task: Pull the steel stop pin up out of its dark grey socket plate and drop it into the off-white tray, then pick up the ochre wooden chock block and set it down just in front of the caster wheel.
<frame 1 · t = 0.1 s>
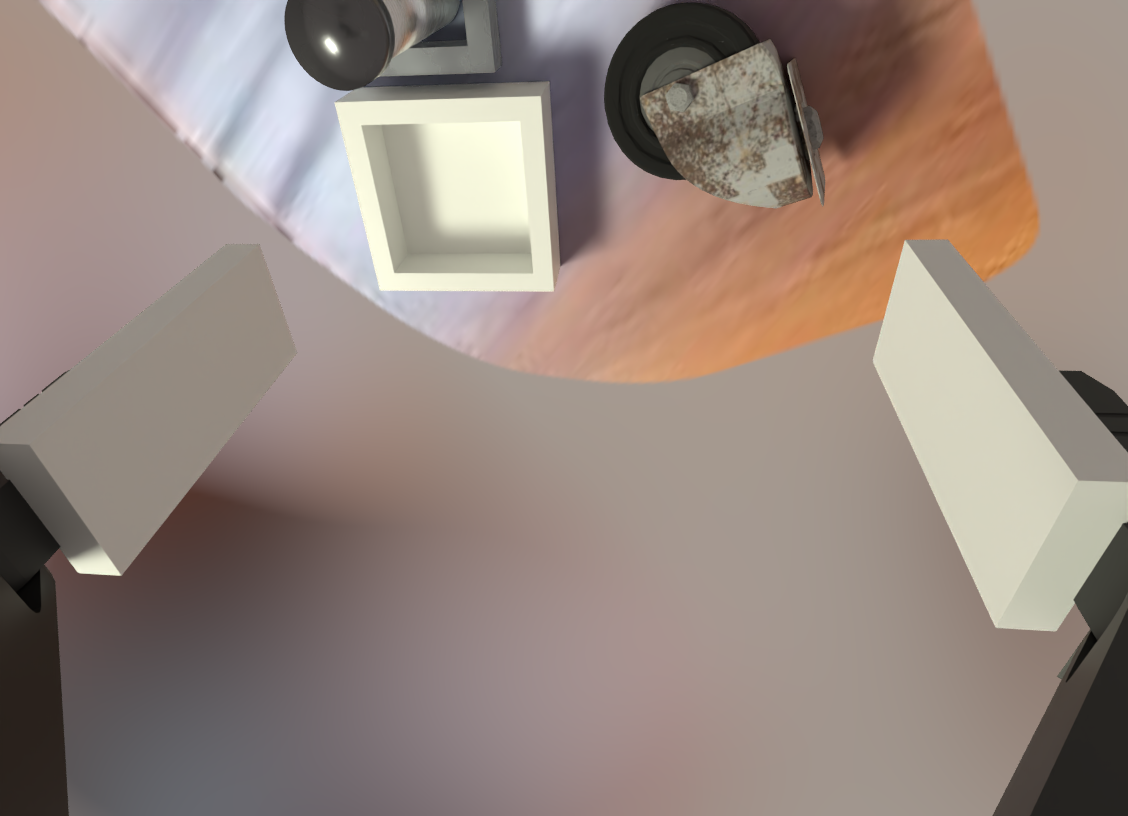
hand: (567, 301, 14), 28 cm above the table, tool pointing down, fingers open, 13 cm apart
tray: (465, 182, 41), on the table
caster wheel: (707, 106, 37), on the table
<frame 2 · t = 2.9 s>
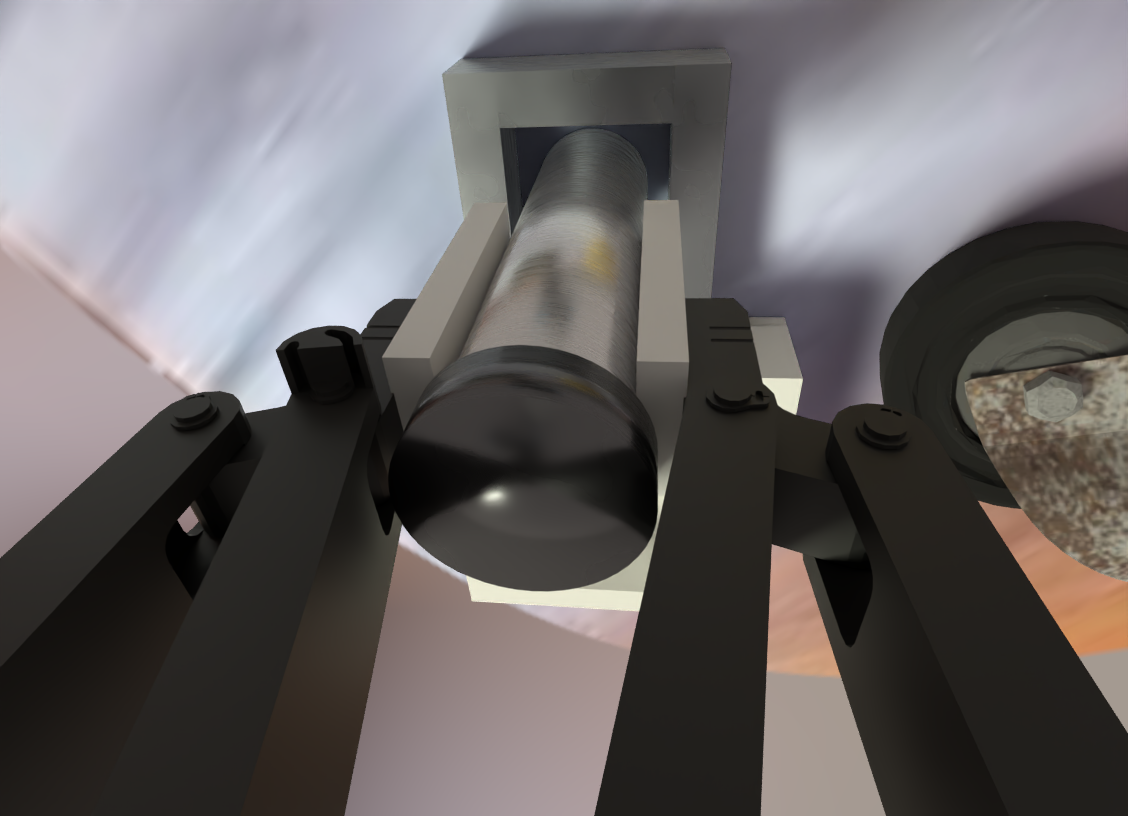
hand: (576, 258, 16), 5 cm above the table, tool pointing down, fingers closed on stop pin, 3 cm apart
stop pin: (593, 184, 20), resting in pin socket, touching gripper
pin socket: (593, 185, 20), on the table
tray: (613, 443, 26), on the table
caster wheel: (1031, 362, 22), on the table
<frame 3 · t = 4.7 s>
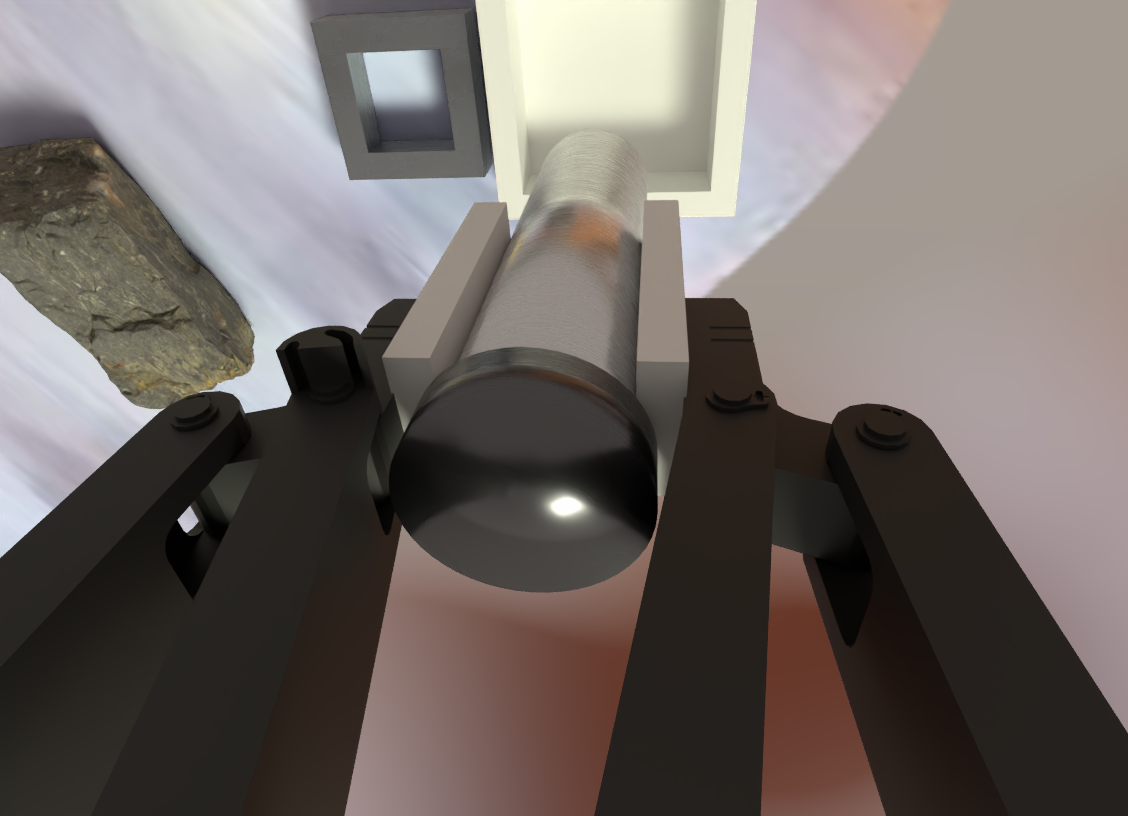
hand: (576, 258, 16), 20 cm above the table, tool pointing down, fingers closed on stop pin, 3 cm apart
stop pin: (593, 186, 20), point 15 cm above the table, touching gripper
pin socket: (414, 93, 33), on the table
tray: (617, 74, 31), on the table
rock: (155, 244, 40), on the table
when the fingers open (7 cm above the table, at t = 6.9 s): stop pin stays where it is, resting on tray.
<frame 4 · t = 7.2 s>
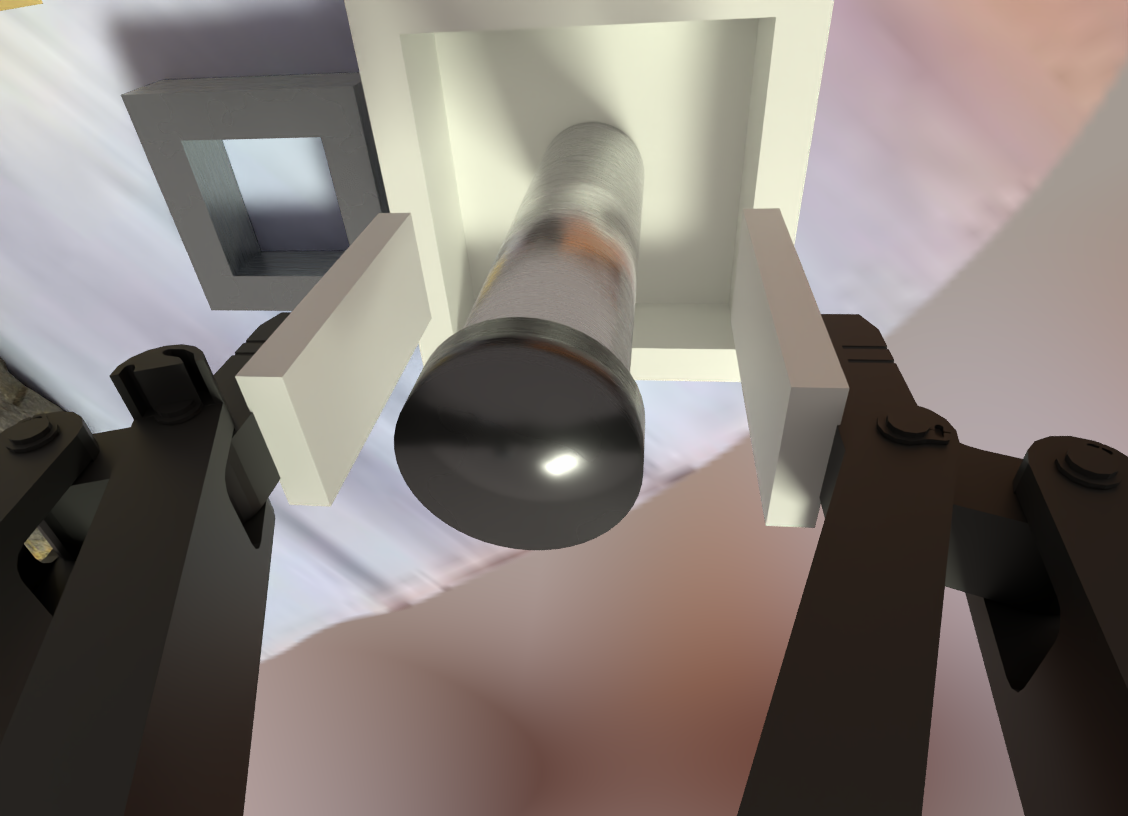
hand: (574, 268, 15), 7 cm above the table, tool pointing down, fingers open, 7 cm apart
stop pin: (592, 176, 20), point 1 cm above the table, touching tray
pin socket: (300, 189, 22), on the table
tray: (596, 168, 21), on the table
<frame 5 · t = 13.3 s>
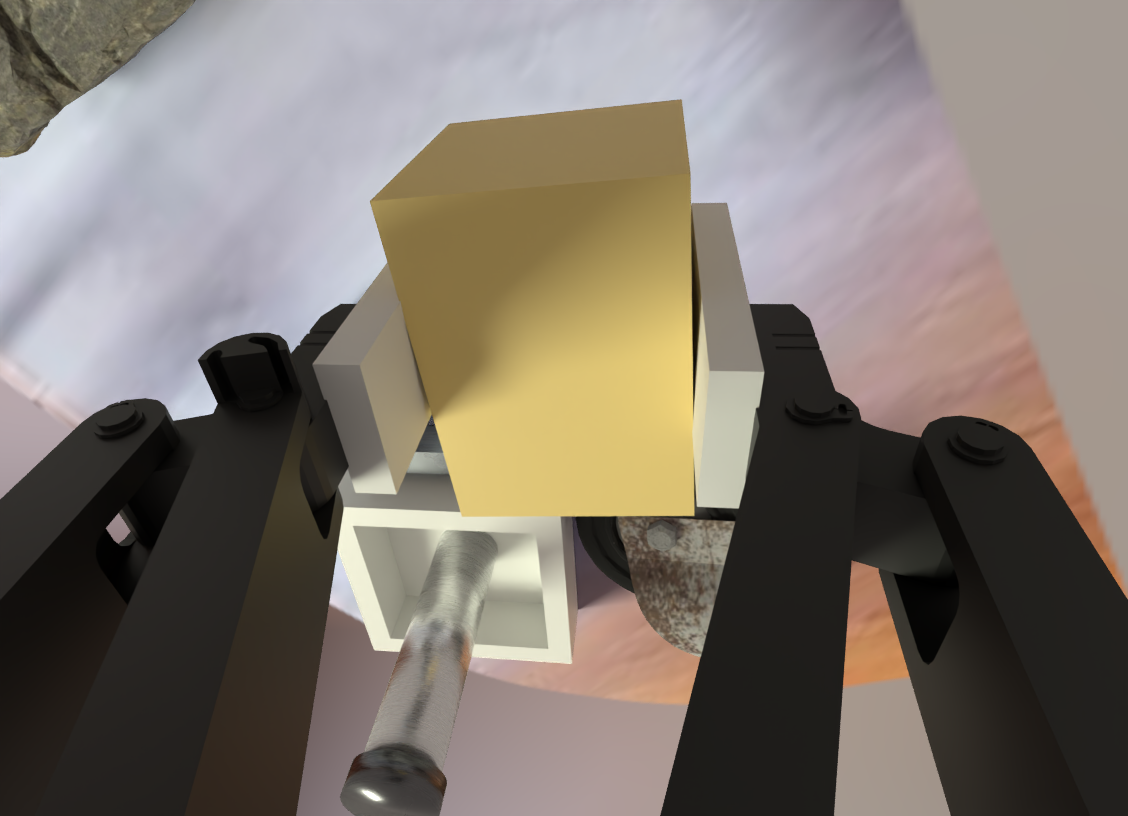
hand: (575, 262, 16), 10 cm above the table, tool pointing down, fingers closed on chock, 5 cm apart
stop pin: (468, 546, 36), point 1 cm above the table, touching tray
chock: (579, 265, 16), point 9 cm above the table, touching gripper
pin socket: (432, 387, 31), on the table
tray: (471, 539, 36), on the table
caster wheel: (685, 502, 34), on the table
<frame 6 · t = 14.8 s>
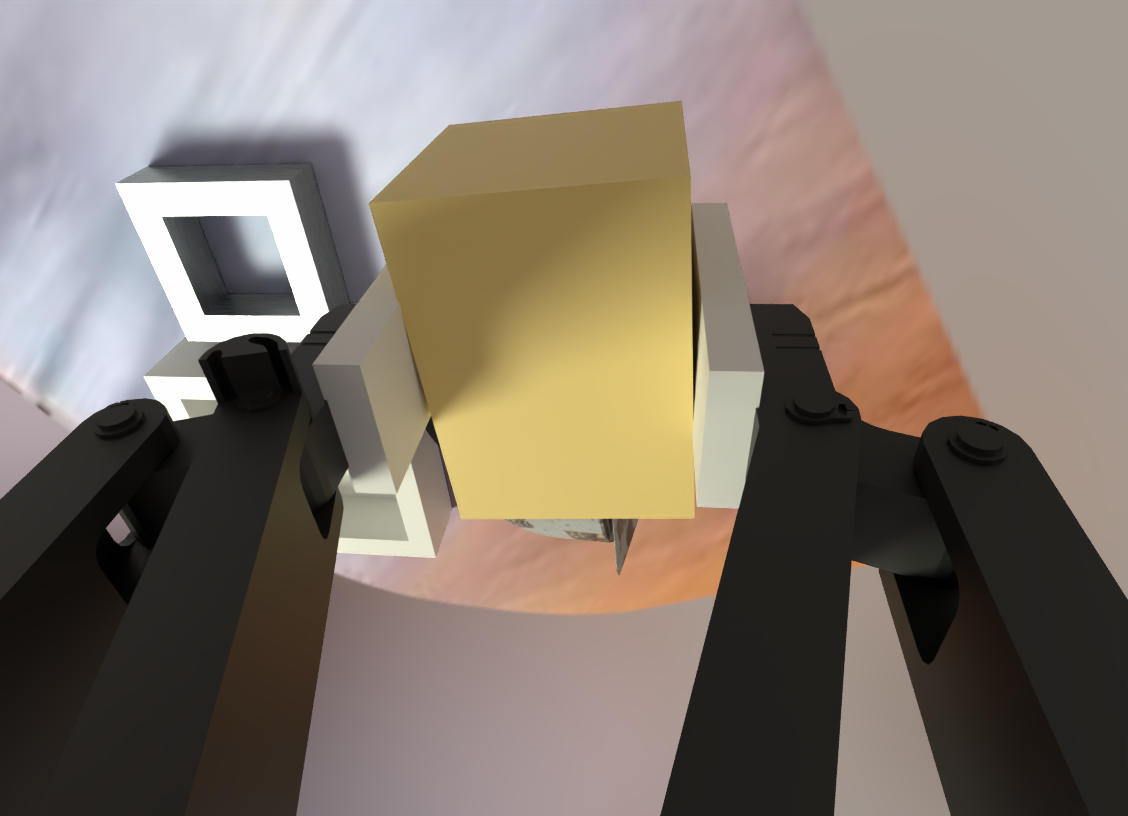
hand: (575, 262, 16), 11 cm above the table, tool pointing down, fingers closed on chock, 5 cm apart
chock: (579, 267, 16), point 10 cm above the table, touching gripper
pin socket: (257, 247, 29), on the table
tray: (330, 428, 35), on the table
caster wheel: (536, 380, 32), on the table
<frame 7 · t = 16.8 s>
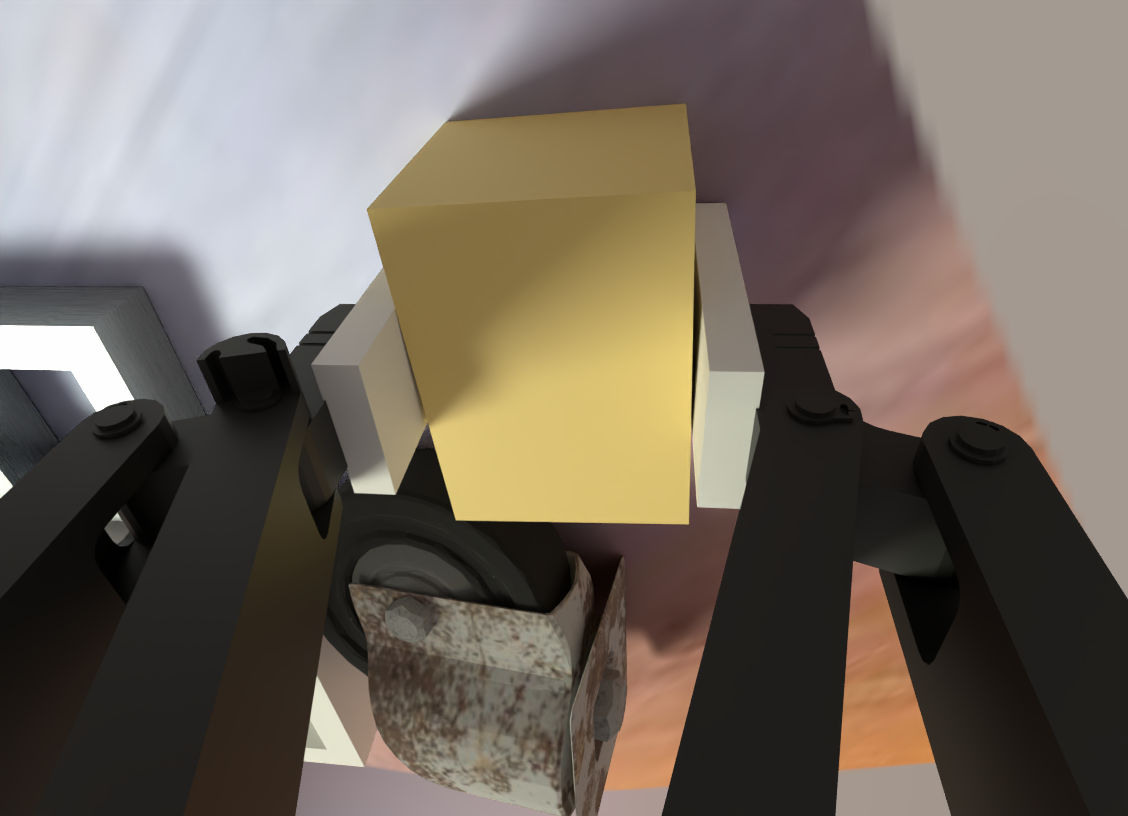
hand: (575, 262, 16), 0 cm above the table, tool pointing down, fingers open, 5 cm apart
chock: (577, 265, 16), on the table
pin socket: (88, 391, 20), on the table
tray: (224, 596, 26), on the table
caster wheel: (484, 554, 23), on the table
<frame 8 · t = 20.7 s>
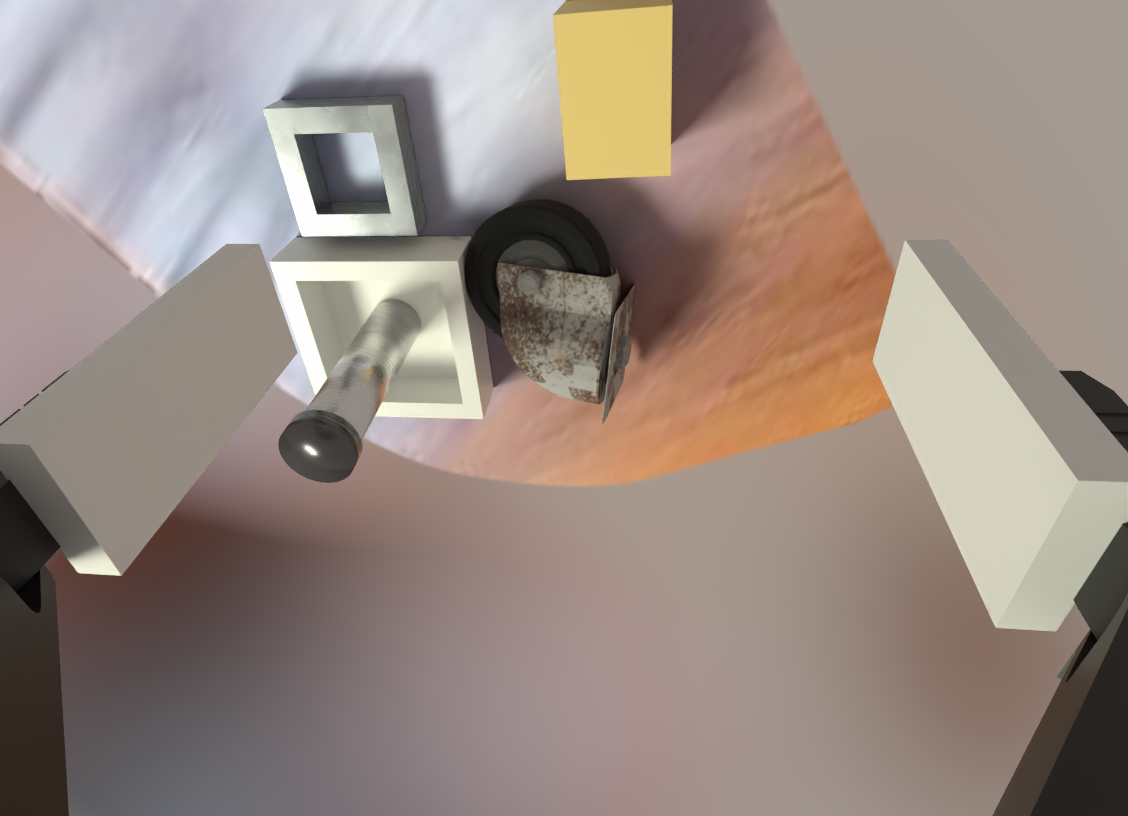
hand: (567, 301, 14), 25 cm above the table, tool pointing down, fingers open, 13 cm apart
stop pin: (397, 320, 44), point 1 cm above the table, touching tray
chock: (620, 76, 34), on the table
pin socket: (356, 163, 38), on the table
tray: (400, 317, 44), on the table
caster wheel: (555, 282, 42), on the table
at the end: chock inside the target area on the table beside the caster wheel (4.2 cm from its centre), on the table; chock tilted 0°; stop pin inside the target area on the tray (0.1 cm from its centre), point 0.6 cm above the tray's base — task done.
